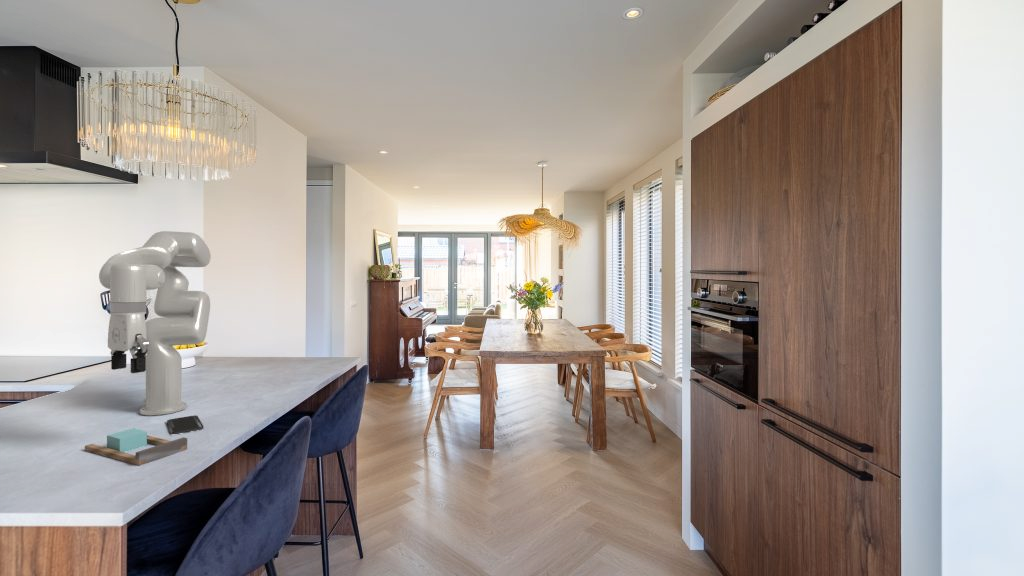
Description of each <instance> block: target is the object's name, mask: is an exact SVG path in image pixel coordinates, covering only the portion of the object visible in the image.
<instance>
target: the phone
mask: <svg viewBox="0 0 1024 576" xmlns="http://www.w3.org/2000/svg"><path fill="white" fill-rule="evenodd" d="M166 425H167V427H168V430H169V433H170V432H171V433H170V435H171V434H177V435H181V434H180V433H183V434H186V433H185V432H188V433H192V432H191V431H194V432H198V431H197V430H199V431H202V429H203V430H204V425H203V422H202V421H201V420H200V418H199V416H198V415H196V414H195V415H189V416H182V417H175V418H170V419H167V420H166Z"/></svg>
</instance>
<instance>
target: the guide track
mask: <svg viewBox="0 0 1024 576" xmlns="http://www.w3.org/2000/svg"><path fill="white" fill-rule="evenodd" d="M149 443H151V444H150V445H153V444H154V446H152V447H148V448H146V449H142V450H139V451H135V454H132V453H127V452H121V451H117V450H113V449H110V448H107V446H106V447H105V446H102V445H98V444H95V443H90V444H87V445H84V451H86V452H90V453H94V454H96V455H100V456H103V457H107V458H111V459H114V460H119V461H121V462H124V463H129V464H132V465H137V466H139V467H140V466H142V464H143V465H146V464H149V463H151V462H154V461H157V460H160V459H162V458H166V457H169V456H172V455H175V454H178V453H181V452H183V450H184V451H186V449H187V450H188V437H179V438H177V439H174V440H169V439H164V438H160V437H156V436H153V435H152V436H150V435H148V434H147V444H149ZM180 451H181V452H180ZM177 452H178V453H177ZM174 453H175V454H174ZM171 454H172V455H171ZM168 455H169V456H168ZM145 463H146V464H145Z"/></svg>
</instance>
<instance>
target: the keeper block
mask: <svg viewBox="0 0 1024 576" xmlns="http://www.w3.org/2000/svg"><path fill="white" fill-rule="evenodd" d="M147 435H148V431H147V430H141V429H138V428H135V427H133V428H130V429H127V430H122V431H118V432H114V433H111V434H106V448H110V449H113V450H117V451H121V452H125V451H127V452H130V451H133V450H132V449H134V450H136V448H137V449H140V448H139V447H141V448H143V447H142V446H144V447H146V445H147V446H148V443H147ZM129 450H130V451H129ZM125 453H126V452H125Z"/></svg>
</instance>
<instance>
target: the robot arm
mask: <svg viewBox="0 0 1024 576" xmlns="http://www.w3.org/2000/svg"><path fill="white" fill-rule="evenodd" d="M211 259H212V257H211V251H210V249H209V247H208V245H207V244H206V242H205V241H204V240H203V238H202V237H201V236H200V235H198V234H197V233H194V232H189V231H188V232H187V231H186V232H185V231H184V232H183V231H170V230H169V231H168V230H165V231H162V230H161V231H158V232H155V233H153V235H151V236H150V237H149V238H148V240H146V242H145V243H144V244H143V245H142V246H140V247H136V248H133V249H128V250H125V251H122V252H119V253H116V254H114V255H113V256H111V257H110V258H108V259H107V261H105V263H104V264H103V265H102V266H101V268H100V270H99V273H98V280H99V283H100V284H101V285H102V287H104V288H105V289H109V315H110V317H109V322H108V332H107V333H108V334H107V348H108V349H110V350H111V351H110V355H111V364H110V365H111V366H110V367H111V370H121V369H127V353H126V352H128V351H129V353H130V356H131V357H132V358H130V373H131V374H137V373H138V374H139V373H143V372H144V373H145V397H144V398H143V399H142V402H143V403H145V406H143V407H142V408H140V409H139V414H140V415H143V416H163V415H169V414H173V413H178V412H180V411H183V410H185V409H187V408H188V404H187V402H184V401H182V375H183V374H182V372H183V371H182V367H183V365H182V363H183V362H182V361H183V359H182V356H181V354H180V352H179V351H178V350H177V349H176V348H175V346H188V345H189V346H190V345H192V346H193V345H199V344H202V343H203V342H204V341H205V340H206V337H207V332H208V325H209V320H210V319H209V318H210V313H211V299H210V296H209V295H208V293H206V292H205V291H202V290H189V286H190V285H189V284H190V283H189V279H188V278H187V277H186V276H185V275H184V273H182V272H181V271H180V270H179V269H178V268H205V267H207V266H208V265H209V264H210V261H211ZM156 289H157V291H156V294H155V295H156V296H155V300H154V303H153V305H154V306H153V310H154V313H155V314H156V315H157V316H158V317H155V318H151V319H148V320H147V321H146V317H145V315H146V314H147V291H149V290H150V291H151V290H152V291H154V290H156Z"/></svg>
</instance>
